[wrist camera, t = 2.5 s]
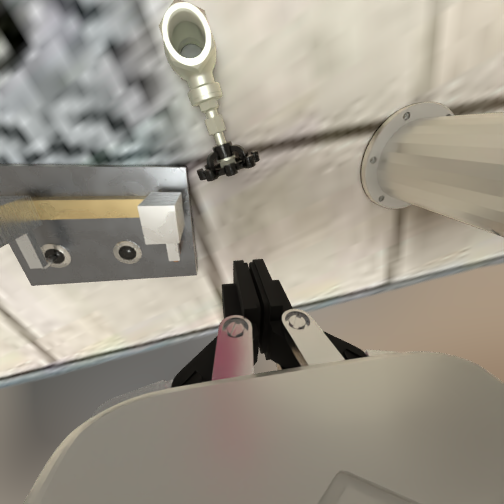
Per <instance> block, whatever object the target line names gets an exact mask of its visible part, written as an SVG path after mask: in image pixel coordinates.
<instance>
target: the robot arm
mask: <svg viewBox="0 0 504 504" xmlns="http://www.w3.org/2000/svg"><path fill="white" fill-rule="evenodd" d="M361 177H362V184H363V188H364V190H365V192H366V194H367V196H368V197H369V198H370V199H371V200H372V201H373V202H374V203H376V204H377V205H380V206H382V207H385V208H389V209H400V208H405V207H408V206H411V205H415V206H418V207H421V208H424V209H427V210H429V211H432V212H435V213H438V214H441V215H443V216H446V217H449V218H452V219H454V220H457V221H460V222H463V223H466V224H468V225H471V226H474V227H477V228H480V229H482V230H485V231H488V232H491V233H494V234H496V235H499V236H502V237H504V112H499V113H484V114H470V115H455V116H454V114H453V113H452V111H451V110H450V109H449V108H448V107H446V106H444V105H442V104H441V103H436V102H421V103H416V104H412V105H409V106H407V107H404V108H402V109H401V110H399V111H397V112H396V113H394V114H393V115H392V116H391V117H389V118H388V119H387V120H386V121H385V122H384V123H383V124H382V125H381V127H380V128H379V129H378V130H377V131H376V133H375V134H374V136H373V138H372V139H371V141H370V143H369V145H368V147H367V149H366V152H365V155H364V159H363V162H362V170H361ZM233 277H234V284H222V300H223V313H224V319H223V320H222V322H221V323H220V325H219V329H218V336H217V337H216V338H215V339H214V340H213V341H212V342H211V343H209V345H207V346H206V347H205V348H204V349H203V350H202V351H201V352H200V353H199V354H198V355H197V356H196V357H195V358H194V359H193V360H192V361H191V362H190V363H188V364H187V365H186V366H185V367H184V368H183V369H182V370H181V371H180V372H179V373H178V374H177V375H176V377H175V378H174V379H173V380H170V381H167V382H165V380H162V381H159V382H156V383H154V384H151V385H148V386H145V387H143V388H140V389H137V390H135V391H132V392H129V393H126V394H123V395H121V396H118V397H115V398H112V399H110V400H108V401H106V402H105V403H103V404H102V405H101V406H100V407H99V408H98V409H97V410H96V411H95V412H94V414H93V415H92V417H91V419H89V420H87V421H86V422H84V423H83V424H82V425H80V426H79V427H78V428H76V429H75V430H74V431H73V432H72V433H71V434H69V436H67V437H66V438H65V440H64V441H63V442H62V443H61V444H60V445H59V446H58V448H57V449H56V450H55V452H54V453H53V455H52V456H51V457H50V459H49V460H48V462H47V463H46V465H45V467H44V468H43V470H42V472H41V473H40V475H39V476H38V478H37V480H36V481H35V483H34V485H33V487H32V488H31V491H30V492H29V494H28V496H27V498H26V499H25V501H24V503H23V504H504V383H503V382H502V381H501V380H499V379H498V378H497V377H495V376H494V375H493V374H491V373H490V372H488V371H487V370H485V369H484V368H482V367H481V366H479V365H477V364H476V363H473V362H471V361H469V360H466V359H463V358H460V357H457V356H453V355H448V354H443V353H436V352H391V351H377V350H366V352H363V351H362V350H361V349H359V348H357V347H355V346H353V345H351V344H349V343H347V342H345V341H343V340H341V339H339V338H337V337H334V336H332V335H330V334H328V333H326V332H324V331H322V330H321V328H320V327H319V326H318V325H317V323H316V322H315V321H314V319H313V318H312V317H311V316H310V315H309V314H308V313H306V312H305V311H302V310H299V309H293V308H292V306H291V304H290V302H289V300H288V298H287V296H286V294H285V292H284V290H283V288H282V286H281V284H280V282H279V280H272V279H271V276H270V274H269V272H268V270H267V267H266V265H265V263H264V261H263V259H255V260H253V262H250V263H249V267H248V264H247V263H244V261H243V260H240V261H233ZM259 348H260V352H261V353H264V354H265V357H266V360H270V359H271V360H273V361H274V362H276V367H277V371H270V372H264V373H258V374H254V365H255V363H256V362H257V356H258V349H259Z"/></svg>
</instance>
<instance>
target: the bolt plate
mask: <svg viewBox="0 0 504 504" xmlns="http://www.w3.org/2000/svg"><path fill="white" fill-rule="evenodd" d="M151 192H181V194H182V203H183V211H184V219H185V226H184V229H183V233H182V237H181V240H180V243H179V249H180V251H181V254H180V257H181V258H180V261H178V262H174V261H169V258H168V253H167V247H166V244H149V245H146V244H145V239H144V235H143V230H142V226H141V221H140V216H139V212H138V207H137V206H138V205H139V204H140V203H141V202H142V201H143V200H144V199H145V198H146V197H147V196H148V195H149V194H150V193H151ZM8 243H9V245H10V246H11V248H12V250H13V252H14V254H15V256H16V258H17V259H18V261H19V263H20V265H21V267H22V269H23V271H24V272H25V274H26V276H27V278H28V280H29V282H30V283H31V285H32V286H34V285H50V284H66V283H81V282H97V281H112V280H128V279H143V278H159V277H175V276H190V275H197V261H196V251H195V241H194V231H193V222H192V212H191V202H190V192H189V182H188V173H187V166H157V165H62V164H0V248H1V247H2V246H4V245H6V244H8Z"/></svg>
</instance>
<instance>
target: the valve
mask: <svg viewBox="0 0 504 504" xmlns="http://www.w3.org/2000/svg"><path fill="white" fill-rule="evenodd" d="M159 28H160V31H161V33H162V36H163V39H164V49H165V54H166V57H167V60H168V62H169V64H170V66H171V67H172V69H173V70H174V71H175V73H176V74H177V75H178V76H180V77H181V79H183V80H186V81H187V83H188V85H189V88H190V92H188V96H189V99H190V102H191V105H192V106H193V107H195V106H200V109H201V112H202V113H203V112H204V113H205V115H206V118H207V119H206V120H205V123H206V126H207V129H208V132H209V135H213V136H214V139H215V142H216V145H217V146H214V147H213V151H214V152H212V153H211V154H210V155H209V156H208V158H207V165H205V169H206V170H205V171H203V169H199V170H197V173H198V175H199V178H200V180H205V179H207V181H213V180H215V179H217V178H218V177H219V176H221V175H225V174H226V176H232V175H235V174H237V173H238V171H237V170H239V169H242V168H251V167H253V166H255V165H256V164H255V162H258V161H259V160H260V159H259V155H258V151H257V150H256V151H252V152H251V154H252V155H249V156H248V152H246V151H245V150H244V148H243V147H241V146H239V145H232V143H231V141H229V142H226V140H225V137H224V134H223V131H225V130H226V128H225V125H224V121H223V118H222V115H218V112H217V108H218V107H219V105H218V102H217V99H219V98H221V97H222V96H223V95H222V91H221V88H220V84H219V83H218V82H215V81H214V77H213V74H212V72H213V69H214V66H215V63H216V45H215V41H214V38H213V35H212V33H211V31H210V28H209V24H208V21H207V18H206V14H205V11H204V10H203V9H201V8H199V7H196V6H194V5H192V4H190V3H187V2H184V1H181V0H174V1H173V3H172V4H171V5H170V7H169V9H168V10H167V12H166V13H165V15H164V17H163V19H162V21H161V22H160V24H159ZM187 44H195V45H197V46H199V47H200V48H201V49H202V50H203V51H202V53H201V54H200V55H199V56H197V57H195V58H185V57H183V56H181V55H180V53H181V50H182V48H183V47H184V46H185V45H187ZM234 151H237V152H238V153H239V157H238V158H234V157H236V156H235V152H234ZM215 158H216V160H217V163H219V164H217V165H215V166H214V159H215Z"/></svg>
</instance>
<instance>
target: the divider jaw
mask: <svg viewBox="0 0 504 504" xmlns="http://www.w3.org/2000/svg"><path fill="white" fill-rule="evenodd" d="M137 207H138V212H139V216H140V221H141V226H142V230H143V235H144V239H145V244H146V245H149V244H166V247H167V253H168V258H169V261H174V262H178V261H180V258H181V257H180V254H181V251H180V249H179V243H180V240H181V237H182V233H183V229H184V226H185V219H184V211H183V203H182V194H181V192H151V193H150V194H149V195H148V196H147V197H146V198H145V199H144V200H143V201H142V202H141V203H140V204H139V205H138V206H137Z"/></svg>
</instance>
